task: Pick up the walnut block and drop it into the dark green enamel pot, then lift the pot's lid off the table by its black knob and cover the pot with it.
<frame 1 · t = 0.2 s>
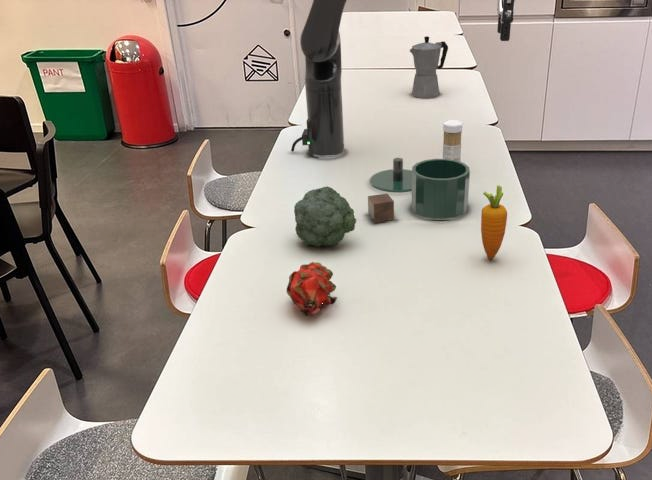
hand: (503, 36, 171), 29 cm above the table, tool pointing down, fingers open, 8 cm apart
carrot: (490, 260, 140), on the table
pot: (439, 209, 160), on the table
coffeepot: (428, 94, 236), on the table
dragon fruit: (313, 307, 127), on the table
lid: (398, 181, 173), point 1 cm above the table
sprinkles bottle: (450, 177, 176), on the table
block: (381, 218, 157), on the table
vegetable: (326, 240, 149), on the table
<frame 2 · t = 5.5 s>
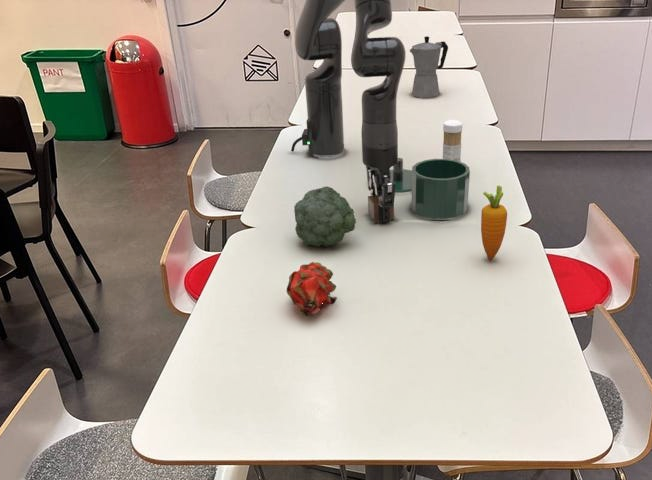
hand: (381, 216, 157), 0 cm above the table, tool pointing down, fingers closed on block, 4 cm apart
block: (381, 218, 157), on the table, touching gripper
everything else where it was.
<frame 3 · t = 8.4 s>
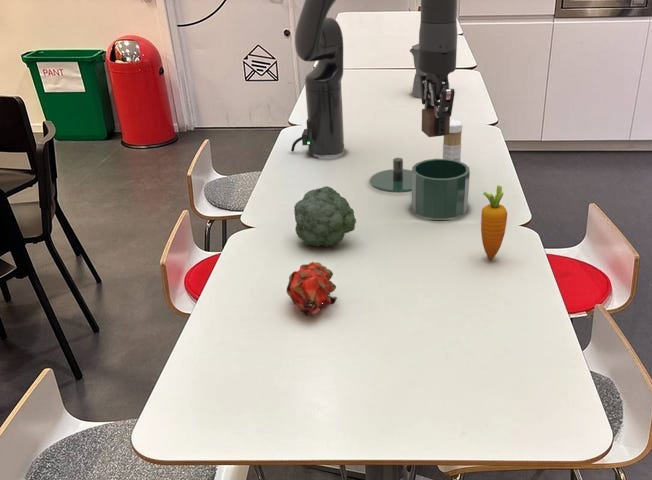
hand: (435, 131, 149), 18 cm above the table, tool pointing down, fingers closed on block, 4 cm apart
block: (435, 132, 149), point 18 cm above the table, touching gripper
everything else where it was.
when the fingers open (7 cm above the table, at t = 11.3 s): block drops 6 cm, resting on pot.
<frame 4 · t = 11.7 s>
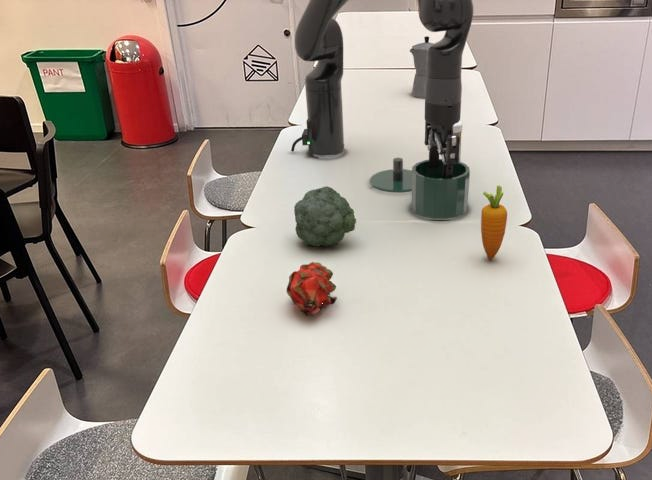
hand: (440, 173, 155), 8 cm above the table, tool pointing down, fingers open, 7 cm apart
block: (439, 207, 160), point 1 cm above the table, touching pot
everything else where it was.
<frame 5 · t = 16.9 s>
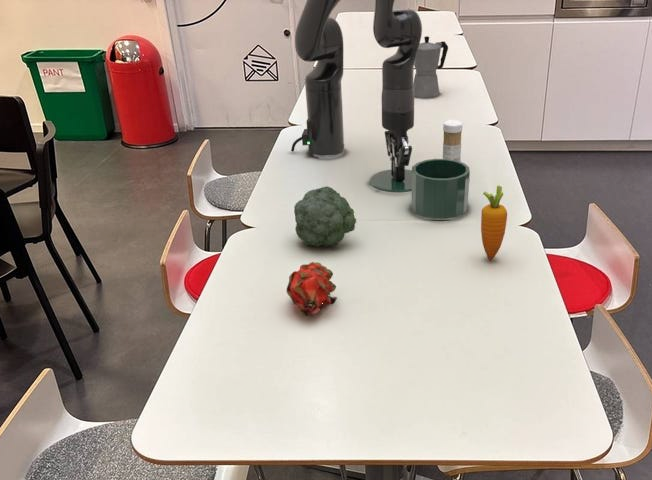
hand: (398, 178, 172), 1 cm above the table, tool pointing down, fingers closed on lid, 2 cm apart
lid: (398, 181, 173), point 1 cm above the table, touching gripper
everything else where it was.
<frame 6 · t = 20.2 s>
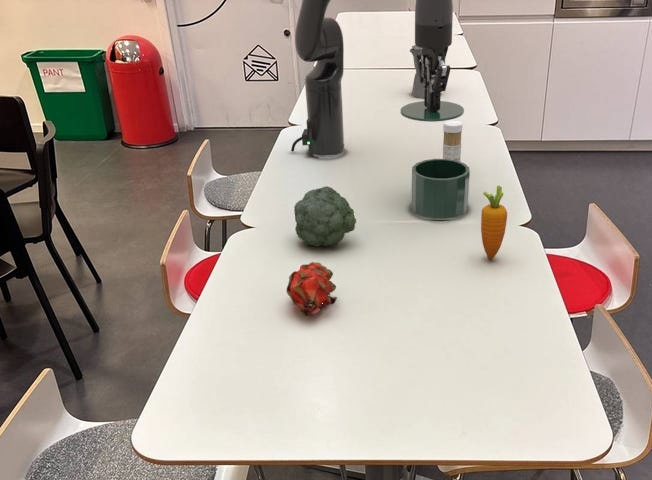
hand: (432, 108, 151), 22 cm above the table, tool pointing down, fingers closed on lid, 2 cm apart
lid: (432, 111, 151), point 21 cm above the table, touching gripper
everything else where it was.
when the fingers open (10 cm above the table, at t = 23.4 s): lid stays where it is, resting on pot.
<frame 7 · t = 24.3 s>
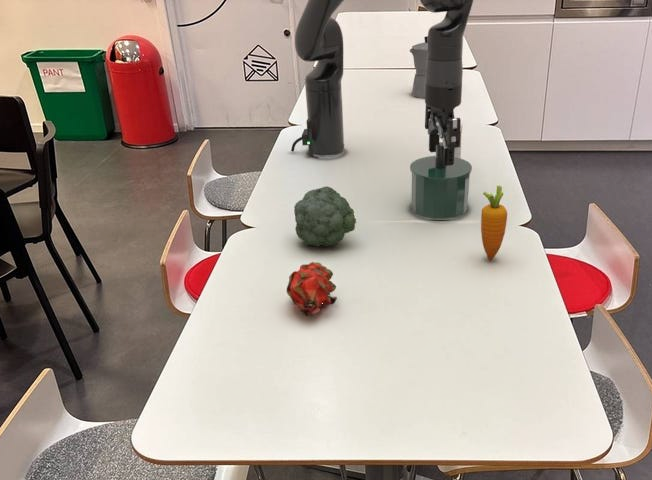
hand: (441, 158, 153), 12 cm above the table, tool pointing down, fingers open, 8 cm apart
lid: (440, 168, 155), point 9 cm above the table, touching pot
everything else where it was.
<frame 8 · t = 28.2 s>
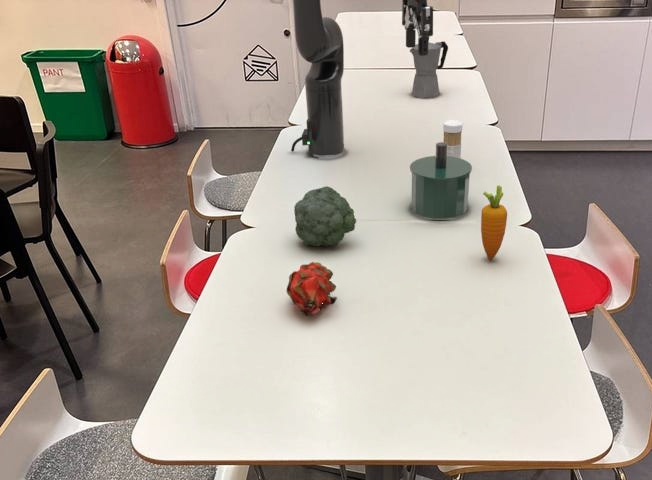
hand: (416, 51, 165), 28 cm above the table, tool pointing down, fingers open, 8 cm apart
nothing on the table moved.
at the end: block inside the target area in the pot (0.1 cm from its centre), point 0.5 cm above the pot's base; lid 0.1 cm off-centre on the pot, point 9.5 cm above the pot's base; lid tilted 0° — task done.
